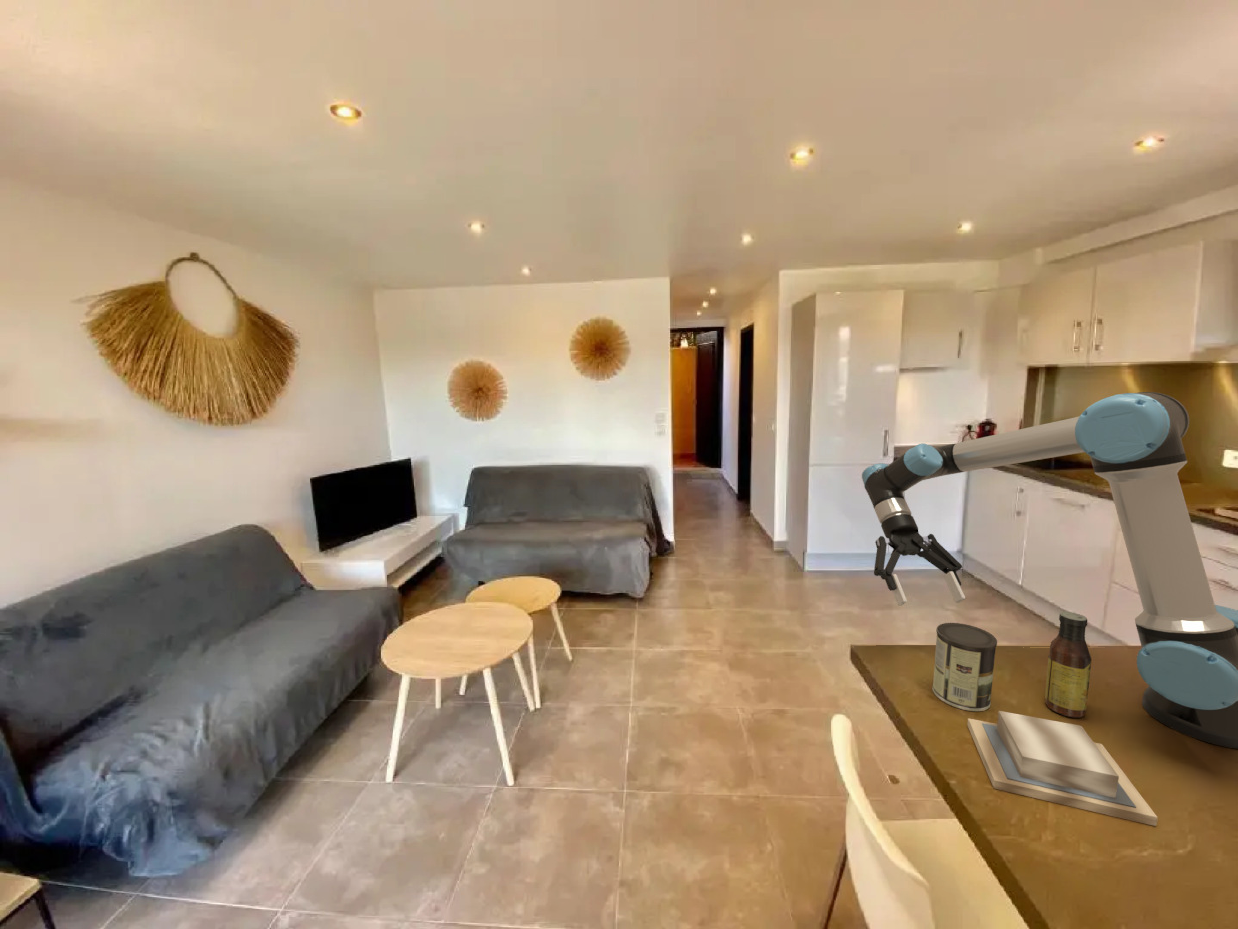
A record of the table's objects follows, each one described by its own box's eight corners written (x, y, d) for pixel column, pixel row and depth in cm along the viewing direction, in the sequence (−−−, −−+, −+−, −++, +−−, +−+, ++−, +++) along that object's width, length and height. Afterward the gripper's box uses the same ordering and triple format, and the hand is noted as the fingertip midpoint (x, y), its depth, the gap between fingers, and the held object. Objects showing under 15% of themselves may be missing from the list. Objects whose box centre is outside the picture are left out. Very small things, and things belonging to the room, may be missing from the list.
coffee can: (973, 682, 108) (979, 623, 106) (1001, 714, 98) (1009, 648, 96) (922, 679, 110) (927, 621, 108) (945, 710, 100) (951, 646, 98)
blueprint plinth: (1100, 751, 88) (1104, 723, 87) (1156, 826, 73) (1161, 794, 72) (967, 725, 95) (969, 699, 95) (993, 788, 81) (996, 758, 80)
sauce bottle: (1093, 721, 96) (1107, 626, 92) (1056, 718, 97) (1068, 623, 93) (1070, 700, 102) (1082, 610, 99) (1035, 697, 103) (1046, 608, 100)
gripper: (936, 525, 128) (974, 605, 116) (842, 529, 127) (871, 610, 115) (952, 510, 122) (995, 593, 110) (853, 514, 121) (886, 598, 108)
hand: (931, 602), depth 112 cm, fingers open, 13 cm apart
